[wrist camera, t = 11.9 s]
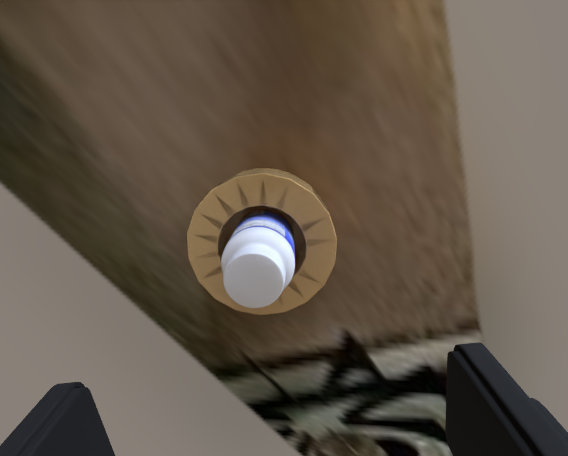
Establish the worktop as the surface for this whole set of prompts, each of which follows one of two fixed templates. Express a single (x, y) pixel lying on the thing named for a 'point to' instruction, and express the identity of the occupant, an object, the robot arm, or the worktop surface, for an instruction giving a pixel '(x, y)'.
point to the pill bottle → (259, 259)
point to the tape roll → (263, 195)
